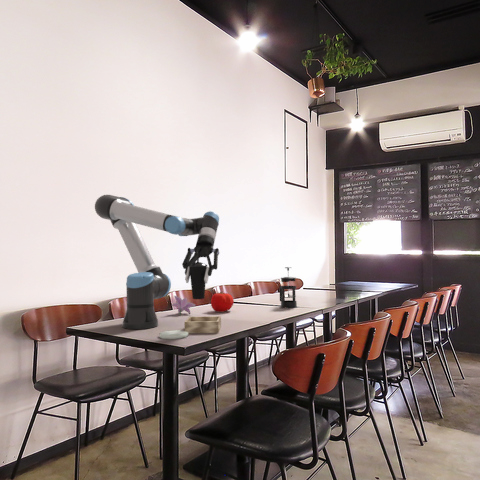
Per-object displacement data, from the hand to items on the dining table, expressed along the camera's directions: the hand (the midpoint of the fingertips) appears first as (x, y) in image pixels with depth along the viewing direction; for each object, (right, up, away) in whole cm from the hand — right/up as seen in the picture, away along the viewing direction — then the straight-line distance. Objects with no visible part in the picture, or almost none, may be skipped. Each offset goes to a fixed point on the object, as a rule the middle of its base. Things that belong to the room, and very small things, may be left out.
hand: (196, 281), depth 166 cm
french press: (+45, -22, +73) cm, 89 cm away
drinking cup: (+1, -8, +4) cm, 9 cm away
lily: (-12, -23, +51) cm, 57 cm away
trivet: (-8, -21, -6) cm, 23 cm away
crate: (+2, -21, +6) cm, 22 cm away
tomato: (+8, -23, +58) cm, 63 cm away
